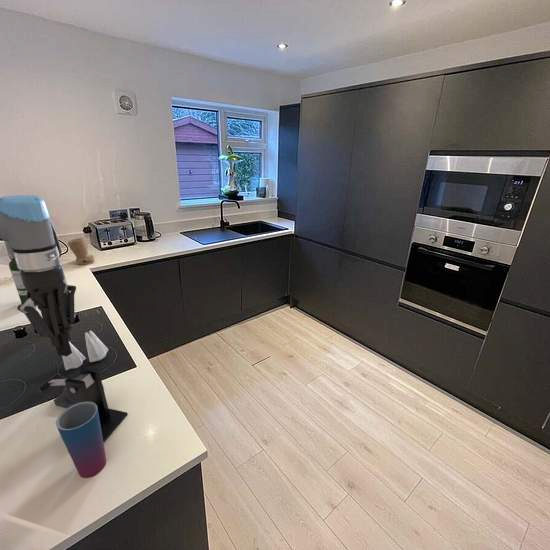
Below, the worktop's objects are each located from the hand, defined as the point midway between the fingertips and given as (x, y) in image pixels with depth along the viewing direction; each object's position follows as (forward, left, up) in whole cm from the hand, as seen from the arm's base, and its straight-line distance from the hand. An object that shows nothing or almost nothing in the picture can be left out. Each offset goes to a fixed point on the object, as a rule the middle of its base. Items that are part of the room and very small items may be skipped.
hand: (65, 353), depth 73 cm
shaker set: (-10, +14, -15) cm, 23 cm away
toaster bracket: (+11, -6, -15) cm, 20 cm away
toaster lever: (+7, -6, -4) cm, 10 cm away
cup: (+19, -15, -15) cm, 28 cm away
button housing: (0, 0, -15) cm, 15 cm away
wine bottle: (-66, +42, -15) cm, 79 cm away
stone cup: (-90, +93, -15) cm, 130 cm away
